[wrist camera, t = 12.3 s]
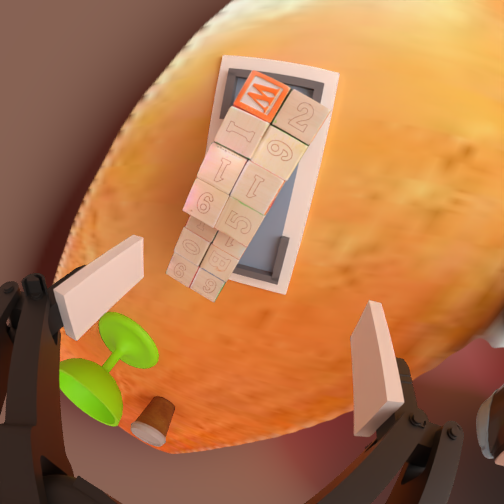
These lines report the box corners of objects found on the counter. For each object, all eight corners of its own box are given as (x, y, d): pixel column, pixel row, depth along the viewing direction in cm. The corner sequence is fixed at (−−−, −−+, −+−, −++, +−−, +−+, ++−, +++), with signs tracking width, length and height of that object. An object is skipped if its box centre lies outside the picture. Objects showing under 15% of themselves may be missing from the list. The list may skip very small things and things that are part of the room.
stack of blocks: (236, 264, 36) (203, 321, 26) (196, 240, 36) (149, 287, 25) (324, 119, 27) (333, 109, 16) (275, 92, 26) (252, 67, 16)
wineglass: (171, 367, 53) (134, 432, 37) (124, 366, 58) (87, 418, 42) (132, 307, 48) (76, 371, 32) (88, 315, 53) (40, 364, 37)
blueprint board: (338, 74, 26) (340, 70, 24) (286, 291, 39) (284, 299, 37) (224, 56, 27) (219, 52, 25) (194, 266, 41) (189, 273, 39)
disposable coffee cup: (142, 389, 61) (122, 422, 50) (172, 395, 58) (152, 432, 48) (157, 410, 64) (140, 441, 54) (186, 416, 62) (169, 450, 51)
